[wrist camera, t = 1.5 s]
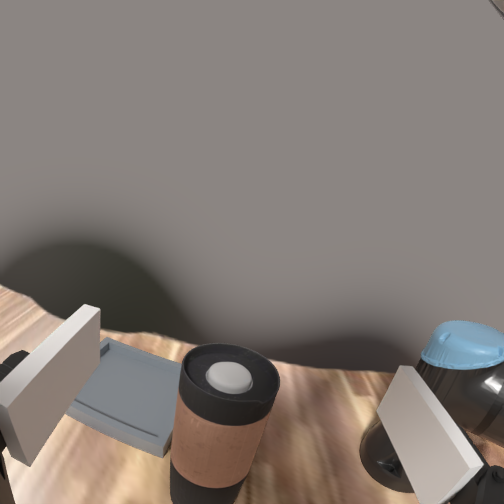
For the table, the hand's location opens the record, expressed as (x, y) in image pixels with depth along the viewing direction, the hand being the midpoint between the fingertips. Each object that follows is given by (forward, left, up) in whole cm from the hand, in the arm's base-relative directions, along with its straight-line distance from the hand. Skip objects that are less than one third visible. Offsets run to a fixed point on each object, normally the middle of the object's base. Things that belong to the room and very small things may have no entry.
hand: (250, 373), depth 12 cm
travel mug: (+1, -9, -26) cm, 28 cm away
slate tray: (+16, -22, -26) cm, 38 cm away
